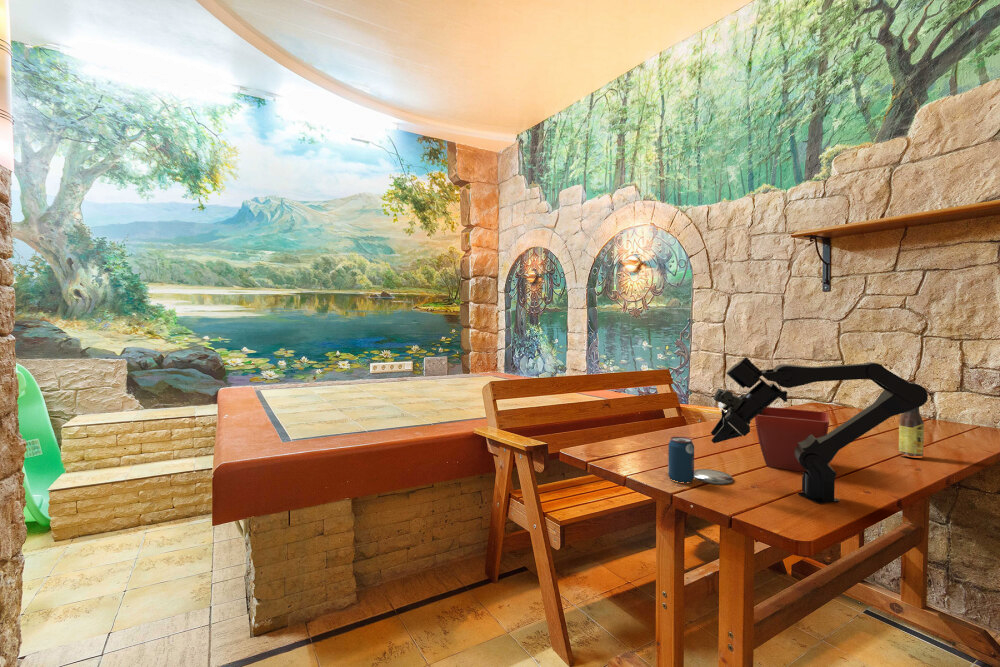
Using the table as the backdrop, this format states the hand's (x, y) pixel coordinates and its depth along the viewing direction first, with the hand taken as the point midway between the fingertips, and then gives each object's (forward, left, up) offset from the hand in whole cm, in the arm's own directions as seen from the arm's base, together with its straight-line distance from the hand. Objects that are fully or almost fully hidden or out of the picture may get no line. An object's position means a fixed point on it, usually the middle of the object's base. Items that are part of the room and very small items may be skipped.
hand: (712, 438), depth 126 cm
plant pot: (+10, -36, -13) cm, 40 cm away
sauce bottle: (+10, -84, -13) cm, 86 cm away
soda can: (+4, +7, -13) cm, 16 cm away
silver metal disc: (+4, -3, -13) cm, 14 cm away
